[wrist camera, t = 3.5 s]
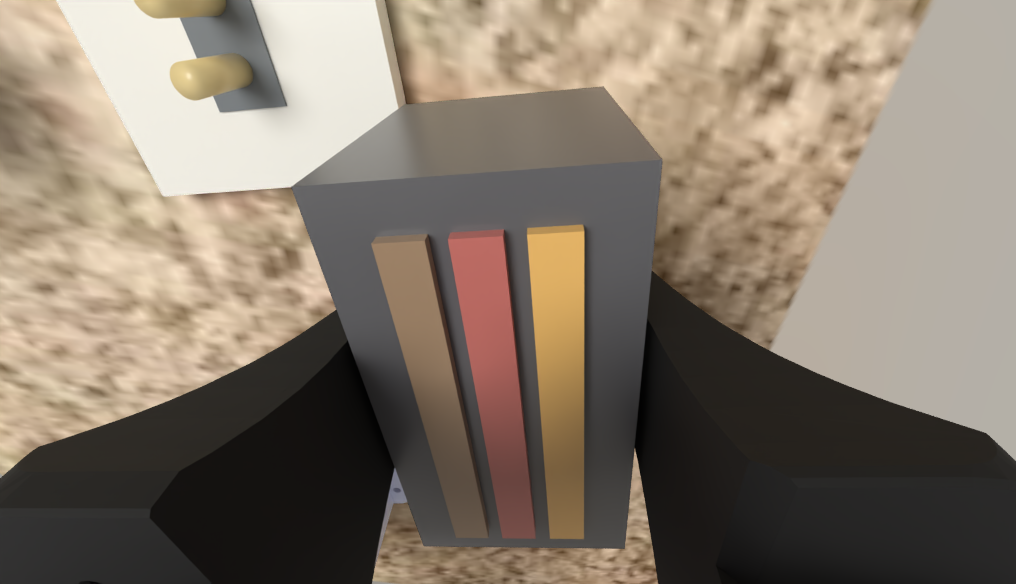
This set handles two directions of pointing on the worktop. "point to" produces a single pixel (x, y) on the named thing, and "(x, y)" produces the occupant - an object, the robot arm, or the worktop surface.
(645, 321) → the block
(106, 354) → the worktop surface
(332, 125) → the header board
